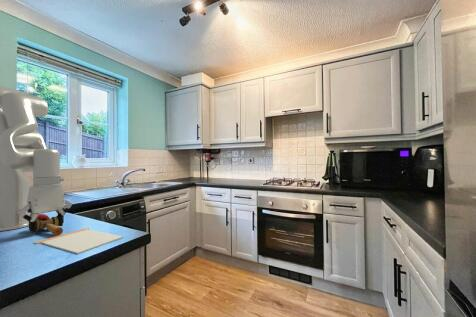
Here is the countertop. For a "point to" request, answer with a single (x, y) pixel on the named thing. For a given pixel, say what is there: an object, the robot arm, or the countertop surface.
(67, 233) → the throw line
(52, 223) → the kendama
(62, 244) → the mat
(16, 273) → the countertop surface
